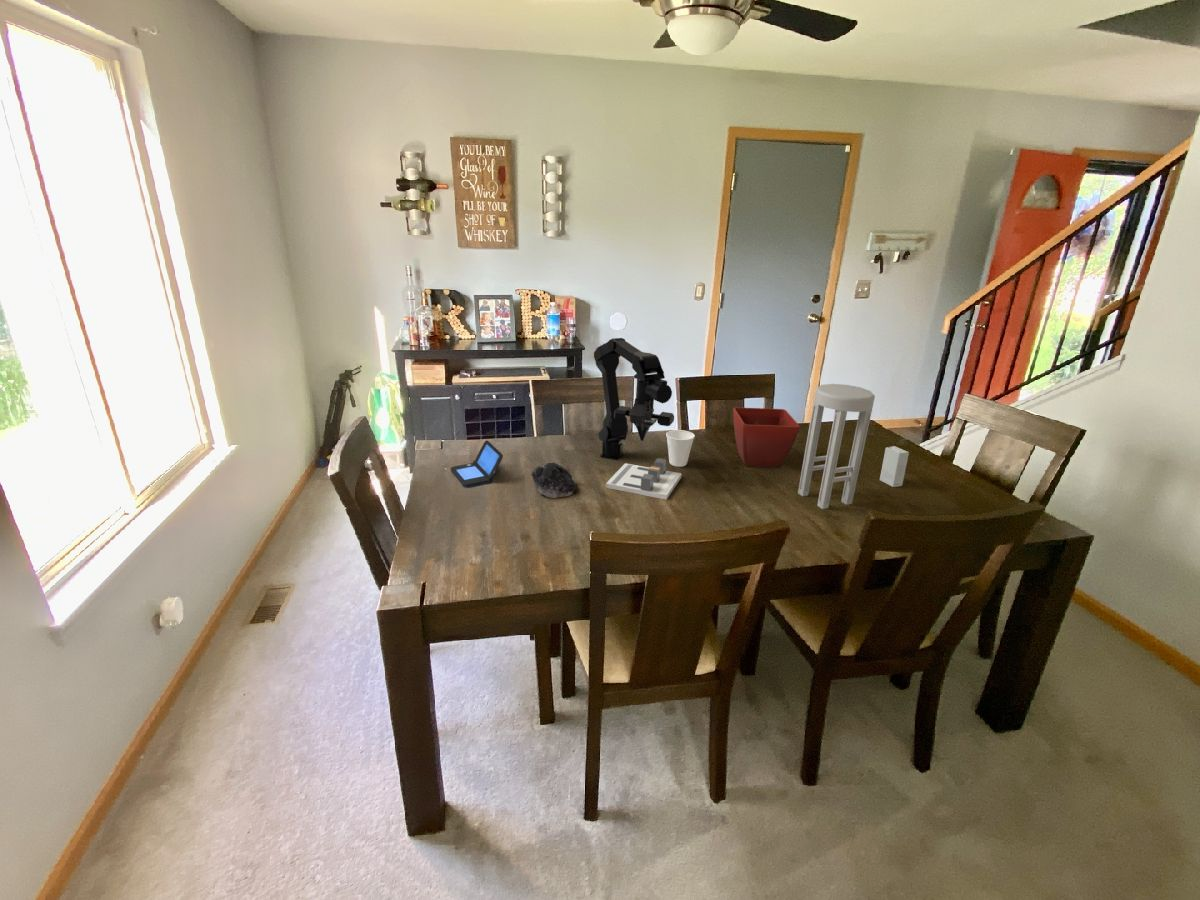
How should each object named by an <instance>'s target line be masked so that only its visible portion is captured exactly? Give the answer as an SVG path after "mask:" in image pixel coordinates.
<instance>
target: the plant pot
mask: <svg viewBox="0 0 1200 900" xmlns="http://www.w3.org/2000/svg"><path fill="white" fill-rule="evenodd" d="M733 428H734V436H735V437H734V438H735V442H736V448H737V449H736V450H737V452H738V455H739V457H740V459H741V461H742V462H743V464H744V466H745V467H761V468H762V467H764V468H766V467H767V468H780V467H782V466H783V464H784V463H785V461H786V459H787V457H788V456H789V454H790V452H791V450H792V447H793V445H794V443H795V441H796V439H797V436H798V433H799V431H800V428H801V426H800V425H799V423H798V422H797V421H796V420H795V419H794V418H793V417H792V416H791V414H790V413H789V412H788V411H787V410H786V409H783V408H762V407H739V406H738V407H735V406H734V407H733Z"/></svg>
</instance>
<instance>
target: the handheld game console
mask: <svg viewBox="0 0 1200 900" xmlns="http://www.w3.org/2000/svg"><path fill="white" fill-rule="evenodd" d="M503 458H504V456H503V454H502V452H500V451H499V449H497V447H496V446H494V445H493V444H492V443H491V442H490V441H489V440H485V441H484V442H483V444H482V446H481V447H480V449H479V451H478V454H477V456H476V457H475V459H474V460H472V462H471V463H464V464H460V465H454V466H451V467H450V472H451V473H452V474H453V476H454V477H455V478H456V479H457V480H458V482H459V483H460V484H461V486H463V487H465V488H471V487H476V486H481V485H485V484H491V483H493V477H494V475H495V474H496V471H497V469H498V468H499V466H500V464H501V462H502V460H503Z"/></svg>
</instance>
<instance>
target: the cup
mask: <svg viewBox="0 0 1200 900" xmlns="http://www.w3.org/2000/svg"><path fill="white" fill-rule="evenodd" d="M665 435H666V439H667V440H666V443H667V450H668V452H667V453H668V461H669V464H670V465H671V466H673V467H677V468H682V467H685V466H687V465H688V461H689V457H690V453H691V449H692V446H693V443H694V439H695V437H696V436H695V434H694V433H693V432H691V431H688V430H682V429H673V430H668V431H666V433H665Z"/></svg>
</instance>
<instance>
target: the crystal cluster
mask: <svg viewBox="0 0 1200 900" xmlns="http://www.w3.org/2000/svg"><path fill="white" fill-rule="evenodd" d="M531 477H532V480H533V481H532V482H533V485H534V487H535V489H536V490H537V491H538V493H540V495H542V496H545V497H547V498H553V499H556V498H562V497H568V496H571V495H572V494H573V493H575V492H574V491H575V490H576V485H577V484H576V482H575V481H574V479H573V475H572V474H571V473H570V472H569V471H568V470H567V469H566V468H564V467H563V466H562V465H559V464H558V463H556V462H545V464H544V466H539V465H537V466H536V467H535V468H534V469H533V470H532V472H531Z"/></svg>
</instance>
